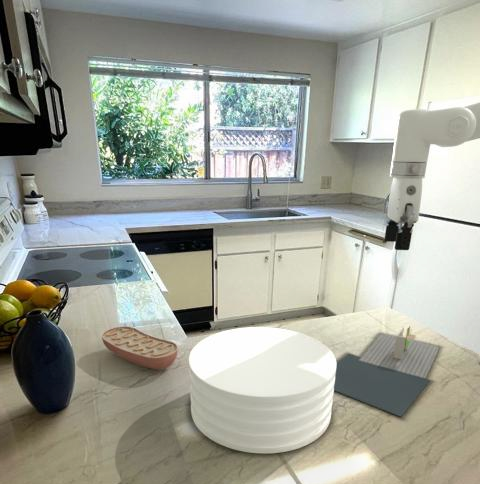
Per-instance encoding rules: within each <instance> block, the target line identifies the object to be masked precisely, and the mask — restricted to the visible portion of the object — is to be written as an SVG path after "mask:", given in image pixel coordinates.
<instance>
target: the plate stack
mask: <svg viewBox="0 0 480 484" xmlns="http://www.w3.org/2000/svg"><path fill="white" fill-rule="evenodd" d="M336 366H337V359H336V356H335V354H334V353H333V351H332V350H331V349H330V348H329V347H328V346H327V345H325V344H324V343H323V342H321V341H320V340H318V339H316V338H315V337H312V336H310V335H307V334H304V333H302V332H298V331H294V330H290V329H284V328H279V327H278V328H277V327H270V326H269V327H268V326H249V327H238V328H231V329H226V330H222V331H219V332H217V333H213V334H211V335H209V336H206V337H205V338H203V339H202V340H200V341H198V343H196V344H195V345H194V347H193V348H192V349H191V350H190V353H189V355H188V369H189V371H188V373H189V374H188V375H189V377H188V378H189V394H190V413H191V418H192V420H193V423H194V425H195V426H196V428H197V429H198V430H199V431H200V432H201V433H202V434H203V435H204V436H206V437H207V438H208V439H209V440H211V441H213V442H215V443H217V444H218V445H221V446H223V447H225V448H229V449H231V450H234V451H239V452H243V453H250V454H278V453H279V454H280V453H285V452H286V453H287V452H290V451H291V452H292V451H295V450H297V449H301V448H303V447H305V446H307V445H310V444H311V443H313V442H315V441H316V440H318V439H319V438H320V437H321V436H322V435H324V433H325V432H326V430H327V429H328V428H329V425H330V422H331V418H332V409H333V402H334V400H333V399H334V394H335V393H334V392H335V391H334V384H335V374H336Z"/></svg>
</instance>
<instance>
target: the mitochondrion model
mask: <svg viewBox="0 0 480 484" xmlns="http://www.w3.org/2000/svg"><path fill="white" fill-rule="evenodd" d="M101 340H102V343H103V345H104V347H105V348H107V349H108V350H109V351H111V352H112V353H113V354H115V355H117V356H118V357H119V358H122V359H123V360H125V361H128V362H130V363H133V364H136V365H138V366H141V367H145V368H149V369H152V370H164V369H166V368H169V367H171V366H172V364H173V363H174V362H175V360H176V359H177V356H178V353H179V347H178V345H177V344H176V343H175V342H173V341H171V340H166V339H162V338H159V337H156V336H153V335H150V334H147V333H145V332H143V331H141V330H139V329H137V328H135V327H132V326H117V327H113V328H110V329H107V330H105V331H104V332H103V333H101Z"/></svg>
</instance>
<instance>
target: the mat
mask: <svg viewBox="0 0 480 484" xmlns="http://www.w3.org/2000/svg"><path fill="white" fill-rule="evenodd" d="M361 357H362V356H357V355H355V354H351V353H347V354H346V355H344V356H343V357H342V358H341V359H340V360H338V361H336V363H337V366H336V374H335V384H334V392H336V393H339V394H341V395H344V396H346V397H348V398H351V399H354V400H357V401H359V402H362V403H364V404H366V405H369V406H371V407H374V408H376V409H379V410H382V411H384V412H386V413H388V414H392V415H394V416H397V417H399V418H402V417H403V416H404V415H405V413H406V412H407V411H408V410H409V408H410V407H411V405H412V404H413V403H414V402H415V400H416V399H417V398H418V397H419V395H420V394H421V393H422V392H423V391H424V389H425V388H426V387H427V386H428V384H429V383H430V381H431V380H430V379H428V378H422V377H418V376H415V375H411V374H407V373H403V372H400V371H396V370H392V369H389V368H385V367H381V366H378V365H374V364H370V363H367V362H363V361H359V359H360V358H361Z"/></svg>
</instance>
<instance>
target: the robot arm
mask: <svg viewBox="0 0 480 484" xmlns="http://www.w3.org/2000/svg"><path fill="white" fill-rule="evenodd" d="M479 139H480V101H479V102H476V103H473V104H470V105H469V104H468V105H466V106H463V107H462V106H454V107H449V108H442V109H434V110H431V109H426V108H425V109H423V108H422V109H420V108H415V109H407V110H404V111H402V112H400V113H399V115H398V117H397V122H396V129H395V137H394V143H393V151H392V157H391V163H390V164H391V165H390V170H389V178H392V182H391V186H390V190H389V196H388V197H389V198H388V203H387V212H386V214H387V215H386V216H387V220H386V225H385V226H386V227H385V233H384V242H387V243H388V242H391V243H392V242H393V243H394V250H395V251H409V250H410V246H411V242H412V236H413V231H414V226H415V224H417V222H419V217H420V212H421V211H420V210H421V203H422V192H423V179H425V177H426V172H427V164H428V161H429V153H430V149H431V148H430V147H431V145H436V146H437V147H440V148H453V147H457V146H461V145H463V144H465V143H467V142H471V141H474V140H479Z"/></svg>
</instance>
